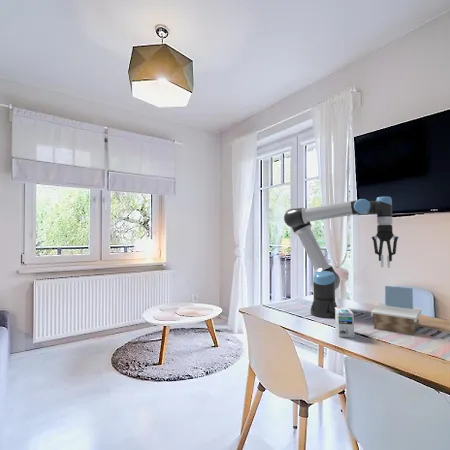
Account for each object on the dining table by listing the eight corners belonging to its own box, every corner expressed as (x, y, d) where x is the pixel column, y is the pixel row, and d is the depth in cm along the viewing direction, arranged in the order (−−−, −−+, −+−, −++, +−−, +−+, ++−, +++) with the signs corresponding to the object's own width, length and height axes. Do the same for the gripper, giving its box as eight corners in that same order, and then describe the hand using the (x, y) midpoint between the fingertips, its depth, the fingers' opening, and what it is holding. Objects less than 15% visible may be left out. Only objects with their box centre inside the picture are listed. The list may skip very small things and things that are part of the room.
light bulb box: (354, 338, 134) (354, 313, 134) (338, 337, 135) (338, 312, 135) (349, 330, 144) (349, 307, 144) (334, 329, 145) (334, 306, 146)
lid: (371, 315, 147) (370, 290, 147) (380, 307, 164) (380, 284, 164) (416, 322, 136) (415, 295, 136) (421, 312, 152) (420, 288, 153)
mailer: (374, 328, 147) (373, 313, 147) (382, 319, 162) (382, 305, 163) (413, 335, 137) (412, 319, 137) (418, 324, 153) (418, 310, 153)
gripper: (367, 224, 172) (368, 266, 172) (399, 224, 163) (400, 268, 162) (371, 225, 178) (371, 265, 178) (401, 224, 169) (402, 267, 168)
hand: (385, 267), depth 170 cm, fingers open, 3 cm apart
